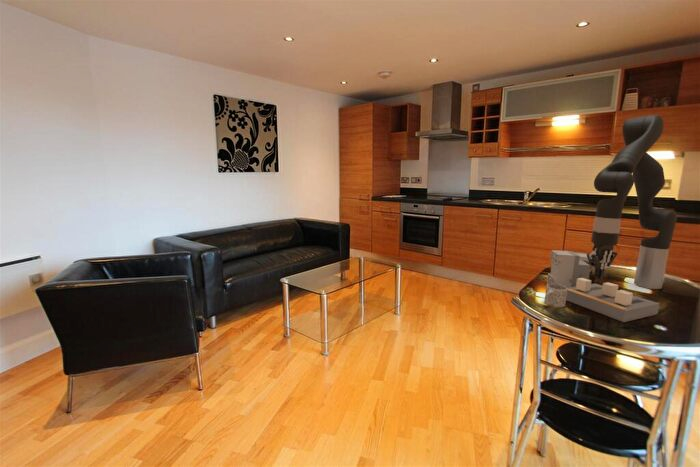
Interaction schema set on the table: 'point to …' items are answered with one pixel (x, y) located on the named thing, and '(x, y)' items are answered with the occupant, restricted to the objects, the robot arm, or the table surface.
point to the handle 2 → (623, 297)
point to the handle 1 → (583, 284)
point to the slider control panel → (612, 304)
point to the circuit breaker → (567, 268)
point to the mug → (555, 295)
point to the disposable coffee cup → (584, 258)
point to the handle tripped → (609, 289)
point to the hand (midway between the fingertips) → (598, 278)
